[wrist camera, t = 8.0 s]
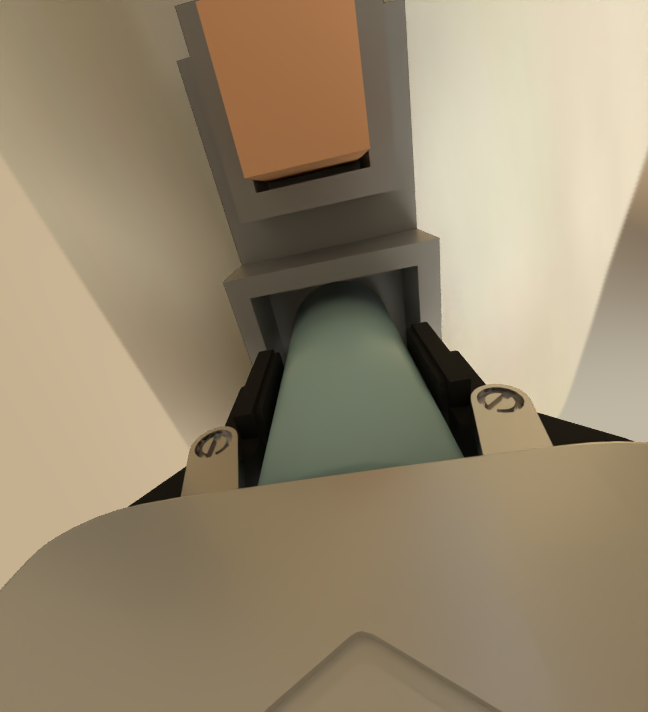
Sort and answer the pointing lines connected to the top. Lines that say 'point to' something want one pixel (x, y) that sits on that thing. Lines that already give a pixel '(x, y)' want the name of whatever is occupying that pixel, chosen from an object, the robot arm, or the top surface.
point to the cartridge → (350, 394)
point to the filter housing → (323, 199)
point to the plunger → (289, 83)
